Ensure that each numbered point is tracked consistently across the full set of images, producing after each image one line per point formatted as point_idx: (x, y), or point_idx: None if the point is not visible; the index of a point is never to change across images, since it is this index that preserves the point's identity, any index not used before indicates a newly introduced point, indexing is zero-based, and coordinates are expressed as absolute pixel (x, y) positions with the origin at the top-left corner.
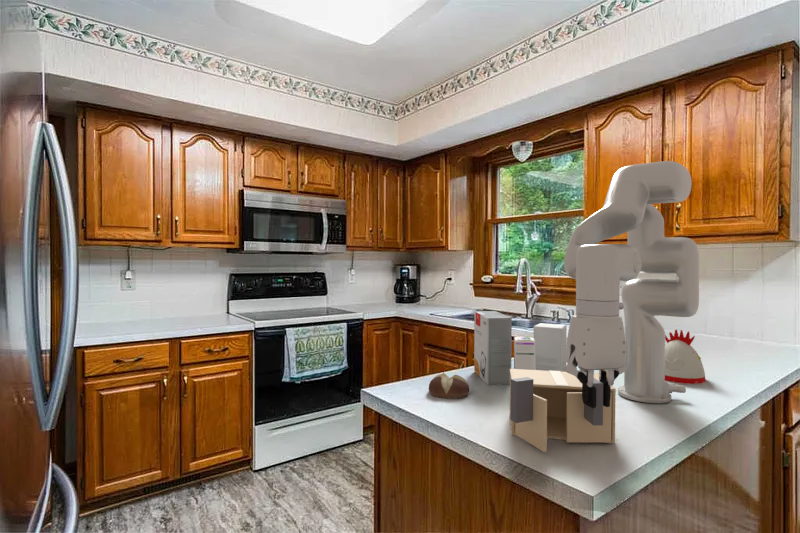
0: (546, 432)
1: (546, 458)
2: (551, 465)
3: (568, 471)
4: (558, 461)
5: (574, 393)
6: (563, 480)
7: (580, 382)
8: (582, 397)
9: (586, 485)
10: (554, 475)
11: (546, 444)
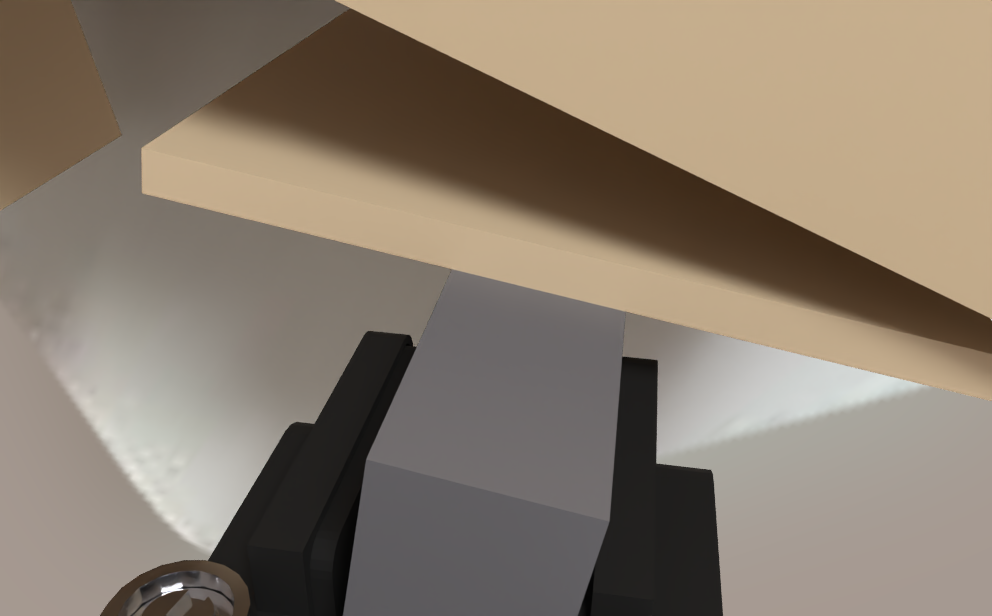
0: (17, 198)
1: (115, 177)
2: (115, 277)
3: (196, 371)
4: (187, 241)
5: (268, 222)
6: (122, 442)
7: (160, 573)
8: (285, 439)
9: (227, 513)
10: (89, 385)
11: (86, 154)
